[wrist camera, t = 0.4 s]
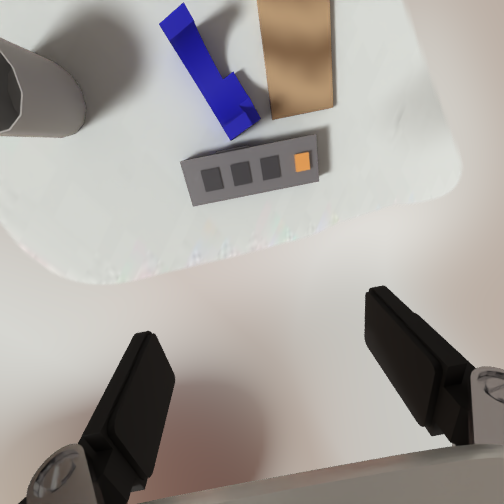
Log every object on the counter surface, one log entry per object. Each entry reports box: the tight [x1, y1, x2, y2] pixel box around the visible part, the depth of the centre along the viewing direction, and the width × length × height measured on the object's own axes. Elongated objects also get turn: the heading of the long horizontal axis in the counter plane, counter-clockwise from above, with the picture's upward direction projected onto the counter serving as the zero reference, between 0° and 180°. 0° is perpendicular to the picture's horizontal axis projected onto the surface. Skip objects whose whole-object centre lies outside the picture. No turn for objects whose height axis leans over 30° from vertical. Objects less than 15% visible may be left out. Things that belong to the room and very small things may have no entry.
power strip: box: [180, 134, 319, 206], centre depth 33 cm, size 18×6×4 cm, turn 100°
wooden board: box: [257, 0, 333, 120], centre depth 29 cm, size 14×8×1 cm, turn 10°
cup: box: [0, 38, 86, 138], centre depth 25 cm, size 8×8×10 cm
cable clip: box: [159, 2, 261, 140], centre depth 28 cm, size 12×4×6 cm, turn 33°
